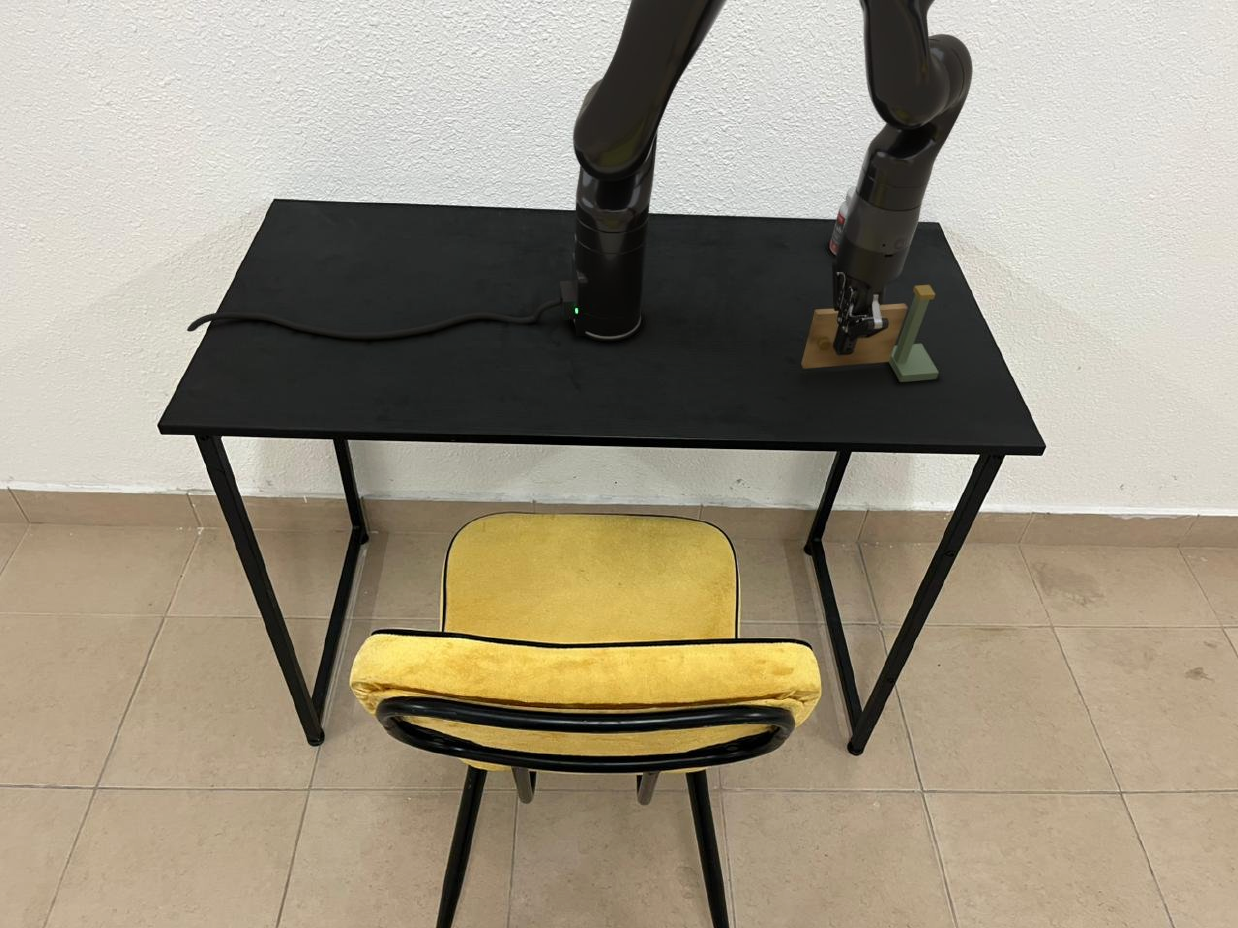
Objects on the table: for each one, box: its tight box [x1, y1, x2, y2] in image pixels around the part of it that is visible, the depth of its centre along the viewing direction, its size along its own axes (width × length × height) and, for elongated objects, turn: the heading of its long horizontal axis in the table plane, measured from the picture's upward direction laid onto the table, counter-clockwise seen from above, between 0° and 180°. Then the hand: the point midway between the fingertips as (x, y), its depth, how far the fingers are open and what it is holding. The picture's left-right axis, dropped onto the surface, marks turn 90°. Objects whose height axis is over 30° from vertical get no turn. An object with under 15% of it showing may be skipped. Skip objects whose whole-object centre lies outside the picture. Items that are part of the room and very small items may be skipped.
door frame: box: [888, 284, 940, 383], centre depth 119 cm, size 5×6×13 cm
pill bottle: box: [829, 185, 857, 256], centre depth 138 cm, size 6×6×10 cm
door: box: [801, 302, 909, 370], centre depth 118 cm, size 12×2×9 cm, turn 100°
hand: (842, 351), depth 112 cm, fingers closed
